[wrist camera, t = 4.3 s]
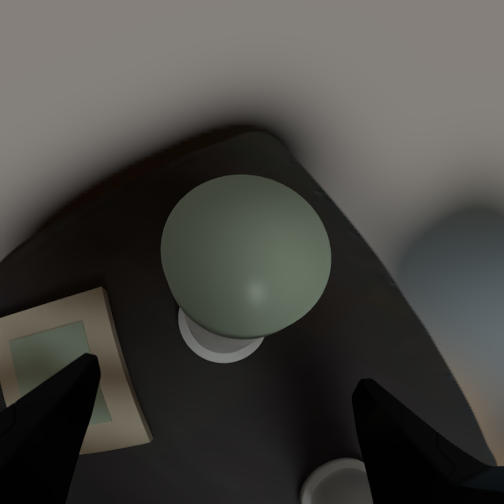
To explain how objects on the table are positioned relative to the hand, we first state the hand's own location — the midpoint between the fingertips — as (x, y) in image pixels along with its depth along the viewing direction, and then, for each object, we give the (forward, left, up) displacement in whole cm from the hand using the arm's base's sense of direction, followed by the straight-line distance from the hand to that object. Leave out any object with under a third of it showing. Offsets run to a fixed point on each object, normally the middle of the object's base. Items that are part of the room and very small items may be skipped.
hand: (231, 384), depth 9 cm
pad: (+3, +11, -11) cm, 16 cm away
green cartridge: (+4, -2, -11) cm, 12 cm away
